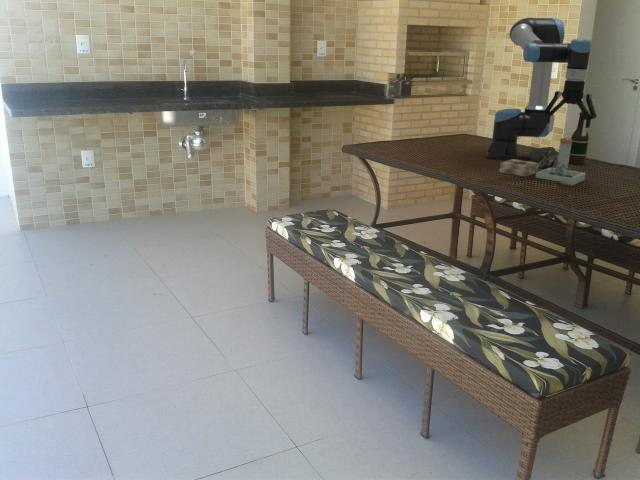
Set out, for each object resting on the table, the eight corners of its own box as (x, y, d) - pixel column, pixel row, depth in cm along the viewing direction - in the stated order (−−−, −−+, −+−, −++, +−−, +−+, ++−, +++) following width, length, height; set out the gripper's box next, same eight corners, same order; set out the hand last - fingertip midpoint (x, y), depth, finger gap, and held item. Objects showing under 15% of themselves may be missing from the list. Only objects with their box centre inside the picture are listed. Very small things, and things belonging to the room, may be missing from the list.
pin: (552, 178, 254) (559, 138, 249) (556, 176, 257) (563, 137, 252) (563, 180, 251) (569, 140, 246) (567, 178, 255) (573, 139, 249)
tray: (535, 179, 254) (536, 172, 253) (549, 174, 265) (550, 167, 264) (571, 185, 245) (572, 178, 244) (584, 180, 255) (585, 173, 254)
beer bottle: (586, 165, 285) (594, 113, 277) (568, 164, 286) (576, 112, 278) (582, 162, 292) (591, 111, 284) (565, 161, 293) (573, 110, 286)
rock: (560, 162, 276) (555, 143, 272) (560, 172, 269) (554, 152, 265) (533, 169, 282) (527, 150, 278) (532, 179, 275) (526, 159, 271)
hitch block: (499, 174, 262) (500, 162, 261) (511, 170, 271) (512, 159, 269) (525, 178, 255) (527, 167, 253) (537, 174, 264) (538, 163, 262)
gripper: (540, 78, 247) (533, 130, 254) (604, 83, 231) (595, 138, 238) (548, 77, 252) (540, 128, 259) (611, 81, 237) (601, 136, 244)
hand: (566, 133), depth 249 cm, fingers open, 13 cm apart
